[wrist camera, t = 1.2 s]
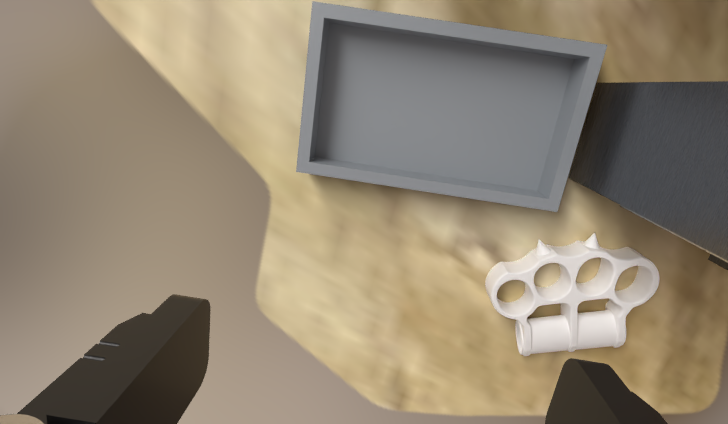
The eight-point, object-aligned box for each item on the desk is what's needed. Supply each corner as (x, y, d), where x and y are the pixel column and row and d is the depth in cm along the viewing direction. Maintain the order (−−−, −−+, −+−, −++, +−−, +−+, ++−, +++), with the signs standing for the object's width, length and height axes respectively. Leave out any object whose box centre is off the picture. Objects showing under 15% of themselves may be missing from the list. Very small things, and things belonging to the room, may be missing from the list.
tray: (304, 164, 46) (296, 171, 42) (319, 9, 42) (312, 1, 38) (543, 201, 46) (557, 212, 42) (587, 48, 41) (607, 44, 37)
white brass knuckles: (490, 347, 52) (480, 240, 48) (640, 332, 50) (644, 220, 46) (496, 364, 49) (487, 251, 45) (657, 349, 47) (662, 230, 43)
